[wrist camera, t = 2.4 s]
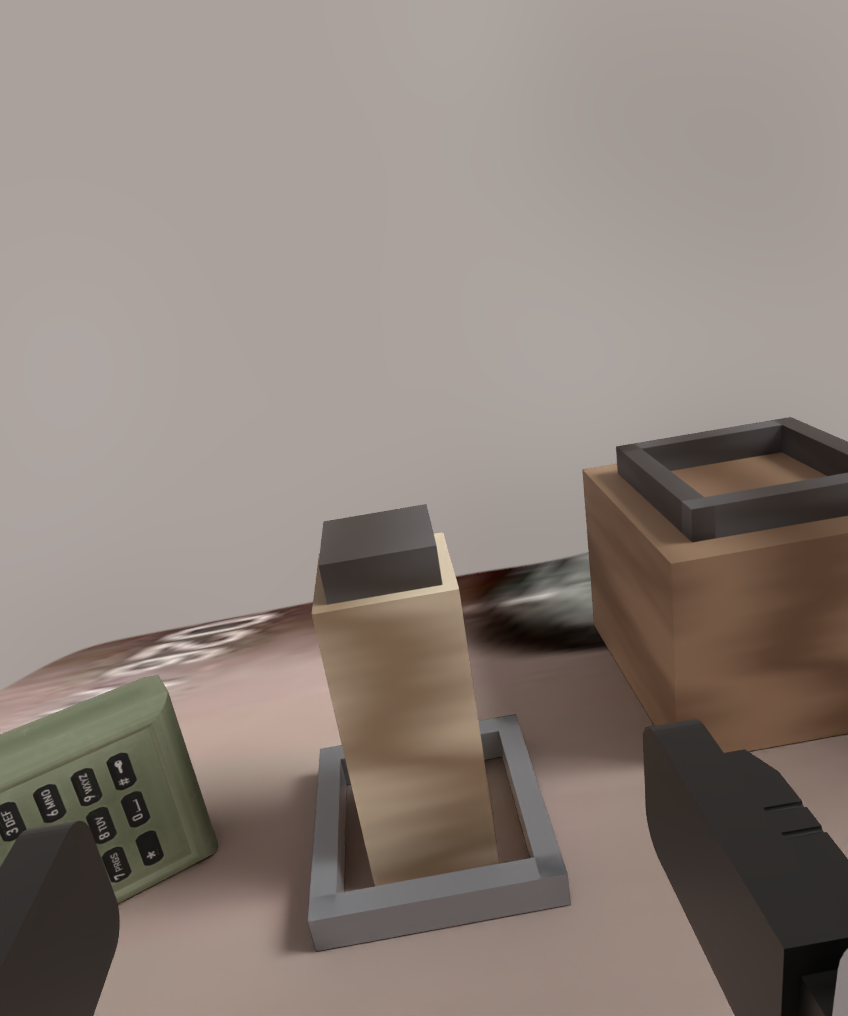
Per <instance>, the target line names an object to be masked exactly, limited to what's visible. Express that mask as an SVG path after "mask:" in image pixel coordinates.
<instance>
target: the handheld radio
mask: <svg viewBox="0 0 848 1016" xmlns="http://www.w3.org/2000/svg"><path fill="white" fill-rule="evenodd" d="M74 821H83V822H85V823H86V824H87V825H88V826H89V828H90V830H91V832H92V834H93V837H94V840H95V843H96V845H97V848H98V851H99V853H100V856H101V859H102V861H103V864H104V867H105V869H106V872H107V875H108V877H109V880H110V883H111V885H112V888H113V891H114V893H115V896H116V899H117V903H120V902H122V901H124V900H126V899H128V898H130V897H132V896H134V895H136V894H138V893H140V892H142V891H143V890H145V889H147V888H149V887H151V886H153V885H155V884H157V883H159V882H161V881H163V880H165V879H167V878H168V877H170V876H172V875H174V874H176V873H178V872H180V871H182V870H184V869H186V868H188V867H190V866H192V865H194V864H195V863H197V862H199V861H201V860H203V859H205V858H207V857H209V856H211V855H213V854H215V853H216V851H217V848H218V843H217V840H216V837H215V834H214V831H213V828H212V825H211V821H210V818H209V815H208V812H207V809H206V806H205V803H204V800H203V797H202V794H201V791H200V788H199V785H198V782H197V779H196V776H195V773H194V770H193V766H192V763H191V760H190V757H189V754H188V751H187V748H186V745H185V742H184V739H183V736H182V733H181V730H180V727H179V724H178V721H177V718H176V714H175V711H174V708H173V705H172V702H171V699H170V696H169V693H168V691H167V689H166V687H165V686H164V684H163V682H162V681H161V679H160V677H159V675H155V676H149V677H144V678H141V679H139V680H136V681H134V682H131V683H129V684H126V685H124V686H121V687H119V688H116V689H114V690H111V691H109V692H106V693H104V694H101V695H99V696H96V697H94V698H91V699H89V700H86V701H83V702H81V703H78V704H76V705H73V706H71V707H68V708H66V709H63V710H61V711H58V712H56V713H53V714H51V715H48V716H46V717H43V718H41V719H38V720H36V721H33V722H31V723H28V724H26V725H23V726H21V727H18V728H16V729H13V730H11V731H8V732H6V733H3V734H1V735H0V867H1V865H2V863H3V862H4V860H5V858H6V856H7V855H8V853H9V851H10V849H11V848H12V846H13V844H14V842H15V841H16V839H17V838H18V836H19V835H20V834H21V833H22V832H23V831H25V830H28V829H32V828H38V827H44V826H50V825H56V824H62V823H68V822H74Z"/></svg>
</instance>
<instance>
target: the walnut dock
mask: <svg viewBox="0 0 848 1016" xmlns="http://www.w3.org/2000/svg"><path fill="white" fill-rule="evenodd" d="M616 452H617V464H612V465H607V466H600V467H594V468H589V469H583V481H584V482H583V483H584V497H585V509H586V522H587V535H588V549H589V563H590V576H591V589H592V602H593V616H594V626H595V627H596V629H597V631H598V632H599V634H600V636H601V637H602V639H603V641H604V642H605V644H606V646H607V647H608V649H609V651H610V652H611V654H612V656H613V657H614V659H615V661H616V662H617V664H618V666H619V667H620V669H621V671H622V672H623V674H624V676H625V677H626V679H627V681H628V682H629V684H630V686H631V687H632V689H633V691H634V692H635V694H636V696H637V697H638V699H639V701H640V702H641V704H642V706H643V707H644V709H645V711H646V712H647V714H648V716H649V717H650V719H651V721H652V722H653V724H654V726H657V725H663V724H669V723H675V722H680V721H686V720H692V719H698V720H700V721H701V722H702V723H703V724H704V726H705V727H706V728H707V730H708V731H709V733H710V734H711V735H712V737H713V738H714V740H715V741H716V742H717V744H718V745H719V747H720V748H721V749H722V751H723V752H724V753H726V752H732V751H738V750H744V749H745V750H746V751H753V750H759V749H764V748H770V747H775V746H781V745H786V744H792V743H797V742H803V741H809V740H814V739H820V738H825V737H831V736H836V735H842V734H847V733H848V442H847V441H845V440H842V439H840V438H838V437H835V436H833V435H831V434H828V433H826V432H824V431H821V430H819V429H817V428H814V427H812V426H810V425H808V424H805V423H803V422H801V421H798V420H796V419H794V418H791V417H789V418H783V419H777V420H771V421H765V422H759V423H753V424H747V425H741V426H736V427H730V428H724V429H718V430H713V431H706V432H700V433H695V434H688V435H682V436H677V437H670V438H665V439H658V440H653V441H647V442H641V443H635V444H629V445H623V446H617V447H616Z"/></svg>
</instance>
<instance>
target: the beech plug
mask: <svg viewBox="0 0 848 1016" xmlns="http://www.w3.org/2000/svg"><path fill="white" fill-rule="evenodd" d="M312 617H313V622H314V626H315V630H316V635H317V639H318V643H319V648H320V652H321V656H322V661H323V665H324V669H325V674H326V678H327V682H328V687H329V691H330V695H331V699H332V704H333V708H334V712H335V717H336V721H337V725H338V730H339V734H340V738H341V743H342V747H343V751H344V756H345V760H346V764H347V769H348V773H349V777H350V782H351V786H352V790H353V794H354V799H355V803H356V807H357V812H358V816H359V820H360V825H361V829H362V833H363V838H364V842H365V846H366V851H367V855H368V859H369V864H370V868H371V872H372V877H373V881H374V885H375V886H380V885H385V884H391V883H396V882H402V881H407V880H413V879H418V878H424V877H429V876H435V875H440V874H445V873H451V872H456V871H462V870H467V869H473V868H478V867H484V866H489V865H495V864H500V863H499V857H498V850H497V843H496V836H495V830H494V823H493V816H492V809H491V803H490V796H489V789H488V782H487V776H486V769H485V762H484V755H483V748H482V742H481V735H480V728H479V721H478V715H477V708H476V701H475V694H474V688H473V681H472V674H471V667H470V661H469V654H468V647H467V640H466V634H465V627H464V620H463V613H462V607H461V600H460V593H459V588H458V584H457V580H456V577H455V574H454V570H453V566H452V563H451V559H450V556H449V552H448V549H447V545H446V542H445V538H444V534H443V533H437V534H433V530H432V526H431V521H430V517H429V513H428V510H427V505H426V504H425V505H419V506H413V507H407V508H401V509H395V510H390V511H384V512H378V513H372V514H366V515H360V516H354V517H349V518H343V519H337V520H330V521H325V522H324V523H323V531H322V539H321V549H320V554H319V559H318V568H317V576H316V584H315V592H314V600H313V609H312Z"/></svg>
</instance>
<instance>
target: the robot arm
mask: <svg viewBox="0 0 848 1016" xmlns="http://www.w3.org/2000/svg"><path fill="white" fill-rule="evenodd" d="M643 750H644V775H645V800H646V815H647V822H648V827H649V831H650V835H651V839H652V842H653V845H654V848H655V851H656V853H657V856H658V858H659V860H660V862H661V865H662V867H663V869H664V871H665V873H666V875H667V877H668V879H669V881H670V883H671V885H672V887H673V889H674V891H675V893H676V895H677V897H678V900H679V902H680V904H681V906H682V908H683V910H684V912H685V914H686V916H687V918H688V920H689V922H690V924H691V926H692V928H693V930H694V933H695V935H696V937H697V939H698V941H699V943H700V945H701V947H702V949H703V951H704V953H705V955H706V957H707V959H708V961H709V963H710V965H711V968H712V970H713V972H714V974H715V976H716V978H717V980H718V982H719V984H720V986H721V988H722V990H723V992H724V994H725V996H726V998H727V1000H728V1003H729V1005H730V1007H731V1009H732V1011H733V1013H734V1015H735V1016H848V859H847V857H846V856H845V855H844V854H843V852H842V851H841V850H840V849H839V847H838V846H837V845H836V844H835V842H834V841H833V840H832V838H831V837H830V836H829V835H828V833H827V832H823V830H822V827H821V825H820V823H819V822H818V821H817V820H816V818H815V817H814V816H813V814H812V813H811V812H810V811H809V809H808V808H807V807H804V806H803V804H802V801H801V799H800V798H799V797H798V796H797V794H796V793H795V792H794V790H793V789H792V788H791V787H790V785H789V784H788V783H787V782H786V780H785V779H784V778H783V777H782V775H781V774H780V773H779V772H778V771H777V770H775V769H774V768H772V767H771V766H769V765H768V764H766V763H765V762H763V761H762V760H760V759H759V758H757V757H755V756H754V755H752V754H751V753H749V752H748V751H746V750H745V749H744V750H738V751H732V752H726V753H724V752H723V751H722V749H721V748H720V747H719V745H718V744H717V742H716V741H715V740H714V738H713V737H712V735H711V734H710V733H709V731H708V730H707V728H706V727H705V726H704V724H703V723H702V722H701V721H700V720H698V719H692V720H686V721H680V722H675V723H669V724H663V725H657V726H651V727H646V728H645V730H644V733H643ZM119 922H120V920H119V908H118V903H117V899H116V896H115V893H114V891H113V888H112V885H111V883H110V880H109V877H108V875H107V872H106V869H105V867H104V864H103V861H102V859H101V856H100V853H99V851H98V848H97V845H96V843H95V840H94V837H93V834H92V832H91V830H90V828H89V826H88V825H87V824H86V823H85V822H83V821H74V822H68V823H62V824H56V825H50V826H44V827H38V828H32V829H28V830H25V831H23V832H22V833H21V834H20V835H19V836H18V838H17V839H16V841H15V842H14V844H13V846H12V848H11V849H10V851H9V853H8V855H7V856H6V858H5V860H4V862H3V863H2V865H1V867H0V1016H93V1015H94V1012H95V1009H96V1006H97V1003H98V1000H99V998H100V995H101V992H102V989H103V986H104V983H105V980H106V977H107V974H108V971H109V968H110V965H111V963H112V960H113V957H114V954H115V951H116V947H117V943H118V937H119Z"/></svg>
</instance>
